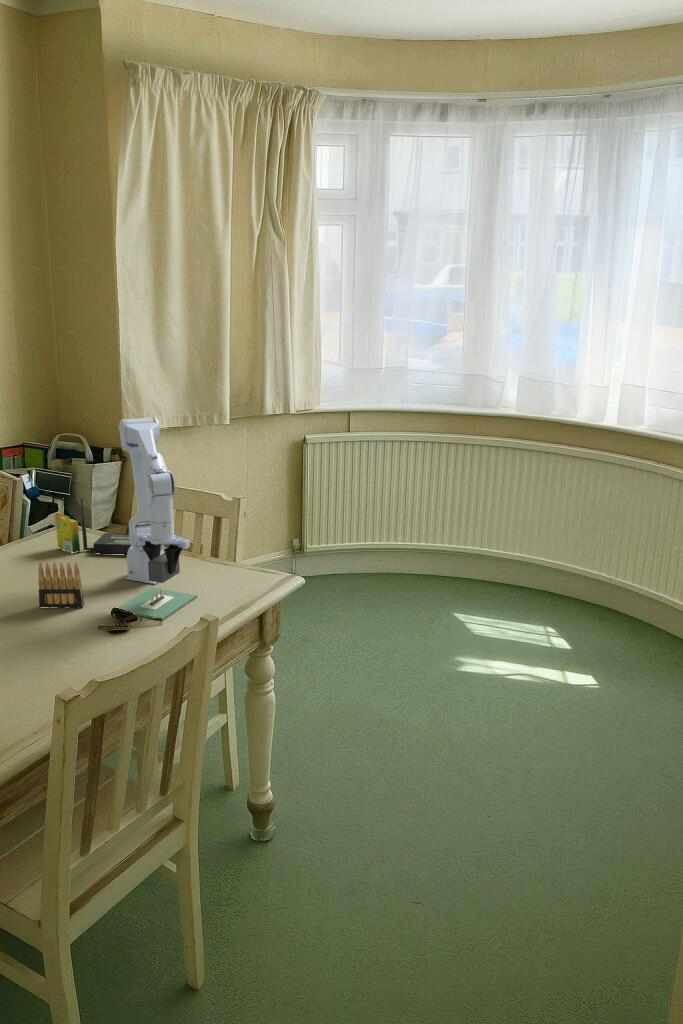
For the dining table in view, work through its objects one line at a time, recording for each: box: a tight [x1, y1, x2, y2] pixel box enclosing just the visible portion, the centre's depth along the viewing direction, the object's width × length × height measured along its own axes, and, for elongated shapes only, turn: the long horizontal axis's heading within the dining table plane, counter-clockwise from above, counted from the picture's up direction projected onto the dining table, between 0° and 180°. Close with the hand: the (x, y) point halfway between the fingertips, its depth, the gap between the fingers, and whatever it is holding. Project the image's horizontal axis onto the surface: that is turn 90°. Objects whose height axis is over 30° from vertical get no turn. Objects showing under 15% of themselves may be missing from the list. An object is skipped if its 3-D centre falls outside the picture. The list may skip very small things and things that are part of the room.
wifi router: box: [80, 497, 131, 555], centre depth 254 cm, size 20×14×17 cm
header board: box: [117, 586, 198, 621], centre depth 217 cm, size 14×16×3 cm
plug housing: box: [148, 552, 181, 584], centre depth 216 cm, size 4×8×5 cm, turn 159°
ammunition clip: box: [37, 562, 85, 609], centre depth 213 cm, size 11×2×12 cm, turn 93°
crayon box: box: [55, 512, 81, 552], centre depth 253 cm, size 7×3×12 cm, turn 52°
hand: (164, 571), depth 216 cm, fingers closed on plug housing, 4 cm apart
